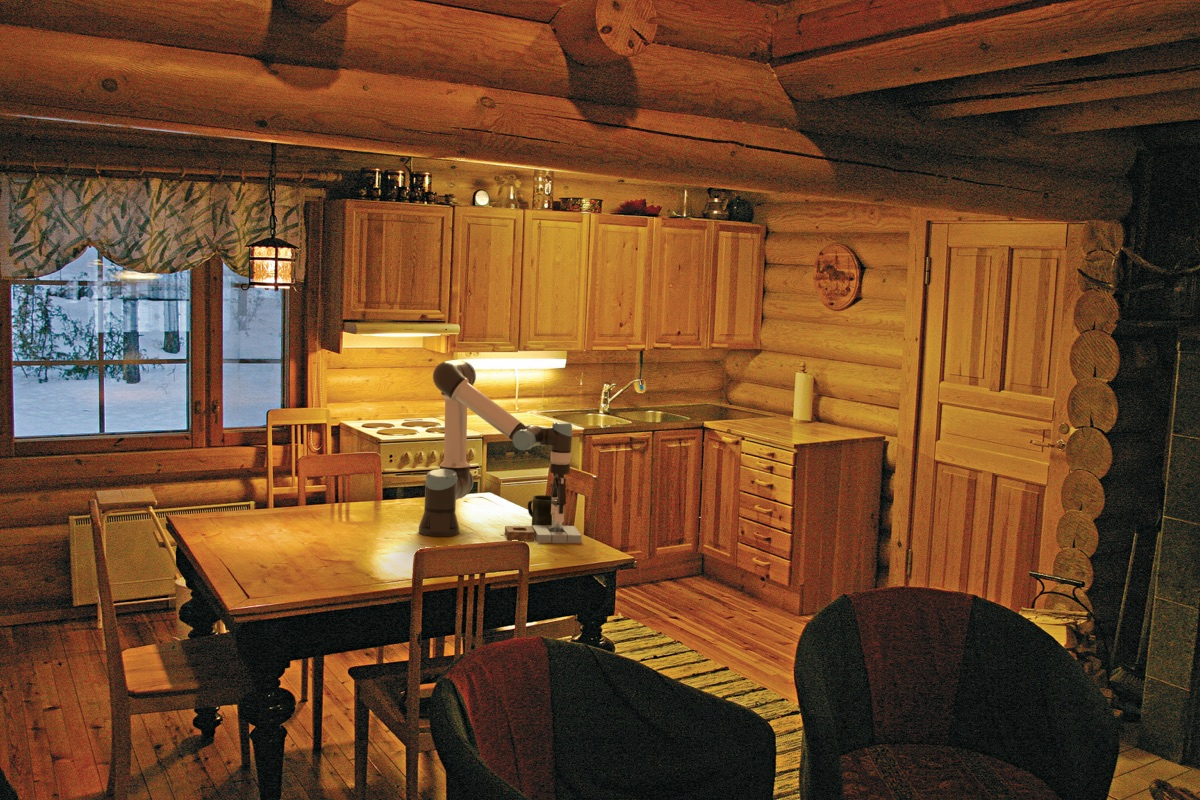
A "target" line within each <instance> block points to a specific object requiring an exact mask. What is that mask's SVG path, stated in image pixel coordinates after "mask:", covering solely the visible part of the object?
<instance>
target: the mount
mask: <svg viewBox="0 0 1200 800" xmlns="http://www.w3.org/2000/svg"><path fill="white" fill-rule="evenodd" d="M504 535H505V537H506V539H507V541H509V540H510V541H512V540H513V541H515V540H514V539H518V540H517V541H521V540H522V541H534V540H535V538H534V531H533V529H532V525H527V526H526V525H505V526H504ZM525 539H526V540H525Z"/></svg>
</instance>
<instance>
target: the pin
mask: <svg viewBox="0 0 1200 800" xmlns="http://www.w3.org/2000/svg"><path fill="white" fill-rule="evenodd" d="M556 503H558V499H552V504H553V509H552V526H551V532H562V526H563V522H556V518H557V505H556Z"/></svg>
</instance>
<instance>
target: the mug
mask: <svg viewBox="0 0 1200 800" xmlns="http://www.w3.org/2000/svg"><path fill="white" fill-rule="evenodd" d="M551 502H552V495H546V494H545V495H544V494H543V495H542V494H541V495H540V494H539V495H533V496H532V497H531V500H529V501H528V502H527V511H528V515H529V517H531V526H532V525H552V514H551Z"/></svg>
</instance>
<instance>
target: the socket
mask: <svg viewBox="0 0 1200 800" xmlns="http://www.w3.org/2000/svg"><path fill="white" fill-rule="evenodd" d="M551 526H552V525H532V524H531V527H532V529H533V531H534V540H535V541H536V543H538V544H539V543H540V544H541V543H543V544H544V543H545V544H548V543H549V544H582V534H581V532H580V531H579V530H578V529H577V528H576V526H575V525H562V532H551Z"/></svg>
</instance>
